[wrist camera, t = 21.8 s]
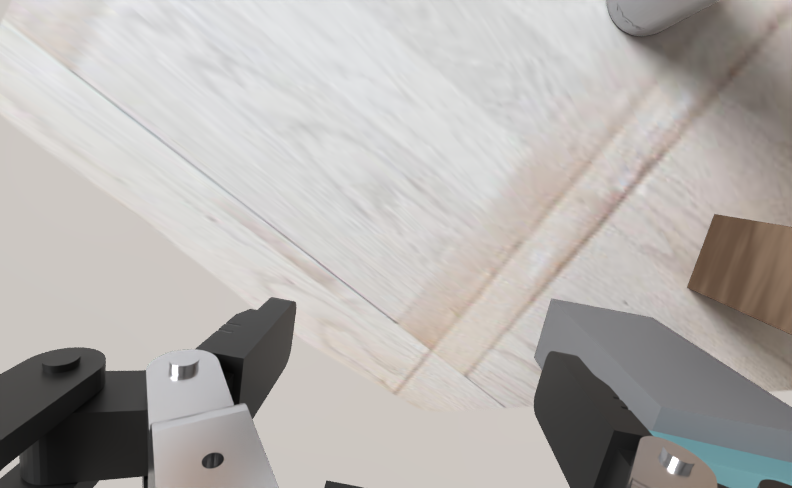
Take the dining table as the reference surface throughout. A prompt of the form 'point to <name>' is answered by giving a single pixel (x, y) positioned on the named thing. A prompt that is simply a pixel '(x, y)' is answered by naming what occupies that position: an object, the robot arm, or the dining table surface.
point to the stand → (748, 269)
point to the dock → (669, 379)
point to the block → (735, 463)
